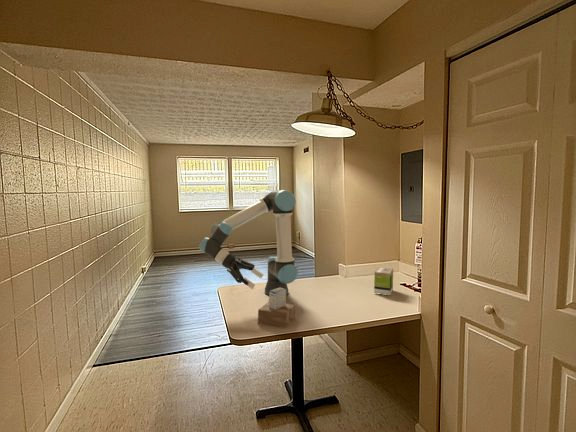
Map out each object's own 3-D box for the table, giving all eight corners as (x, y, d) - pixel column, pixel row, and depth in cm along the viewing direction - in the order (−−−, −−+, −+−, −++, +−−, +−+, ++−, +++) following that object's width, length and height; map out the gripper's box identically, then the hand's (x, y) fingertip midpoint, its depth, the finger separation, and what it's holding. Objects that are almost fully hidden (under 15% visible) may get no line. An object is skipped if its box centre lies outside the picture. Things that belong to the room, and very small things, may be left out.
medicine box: (279, 304, 157) (279, 287, 157) (286, 306, 154) (286, 289, 154) (268, 308, 151) (269, 290, 150) (275, 310, 148) (275, 292, 148)
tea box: (377, 288, 212) (378, 266, 211) (393, 290, 208) (394, 268, 207) (373, 294, 199) (374, 271, 198) (389, 296, 194) (390, 273, 193)
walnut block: (269, 314, 162) (269, 300, 161) (294, 318, 157) (295, 304, 157) (257, 324, 149) (258, 309, 148) (285, 329, 144) (285, 314, 144)
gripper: (231, 256, 178) (262, 277, 177) (211, 273, 155) (246, 297, 153) (237, 246, 176) (268, 267, 174) (218, 261, 152) (253, 286, 151)
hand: (258, 281), depth 164 cm, fingers open, 13 cm apart
